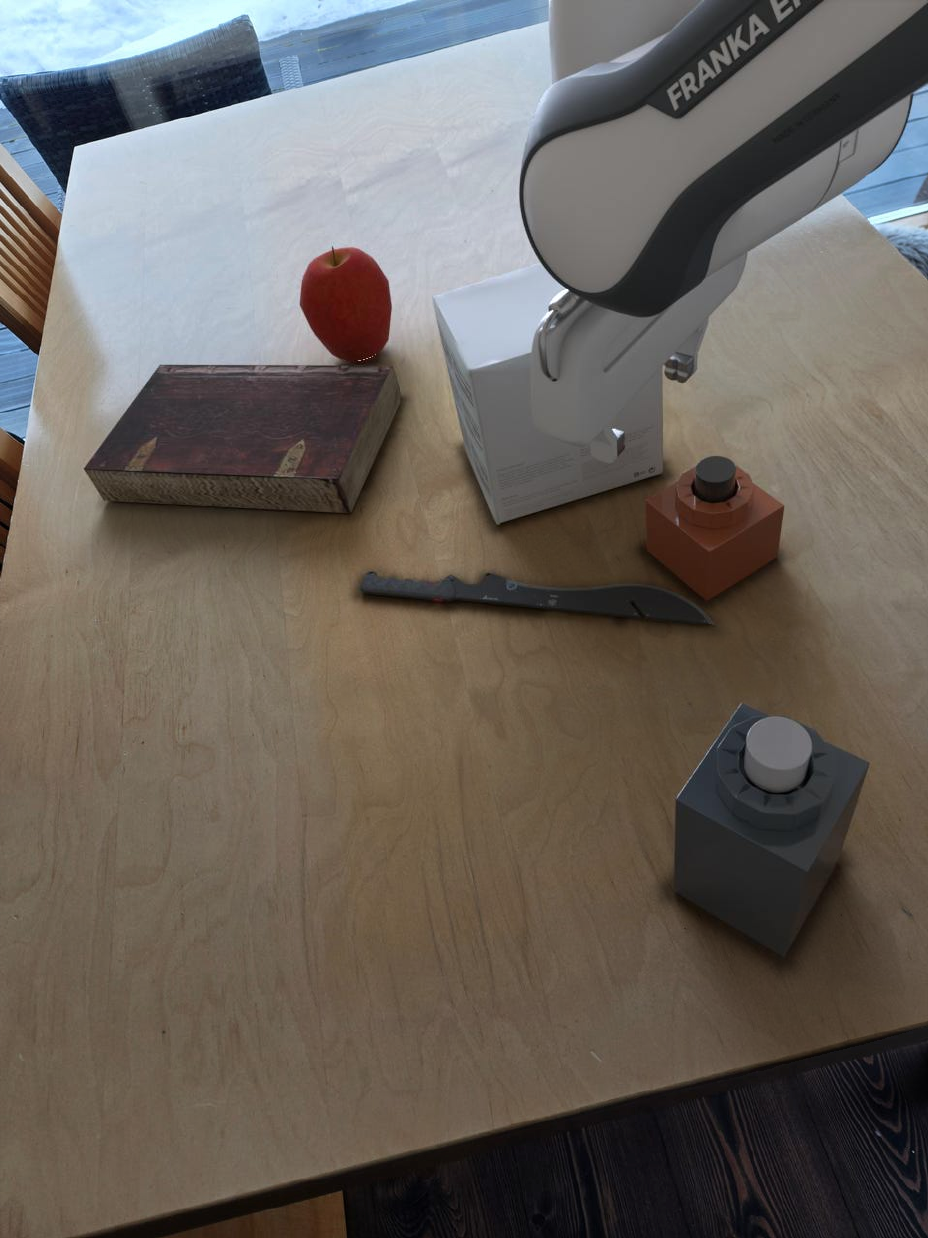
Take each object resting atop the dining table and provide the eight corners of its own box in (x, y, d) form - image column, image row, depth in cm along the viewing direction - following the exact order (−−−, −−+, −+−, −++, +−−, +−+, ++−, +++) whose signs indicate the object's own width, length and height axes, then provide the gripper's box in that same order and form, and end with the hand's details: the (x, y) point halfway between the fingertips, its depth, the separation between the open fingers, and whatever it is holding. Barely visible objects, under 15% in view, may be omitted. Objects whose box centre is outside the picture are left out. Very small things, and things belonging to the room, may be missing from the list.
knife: (719, 593, 79) (720, 589, 79) (714, 631, 77) (714, 626, 76) (373, 561, 89) (371, 557, 88) (358, 594, 86) (357, 590, 86)
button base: (777, 556, 81) (787, 489, 75) (706, 601, 79) (710, 535, 73) (714, 508, 86) (718, 441, 80) (646, 550, 84) (644, 484, 78)
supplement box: (615, 398, 98) (608, 237, 85) (666, 475, 90) (667, 309, 76) (460, 446, 98) (427, 291, 84) (496, 529, 89) (466, 371, 75)
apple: (387, 319, 115) (360, 211, 105) (416, 358, 109) (390, 247, 99) (310, 349, 114) (274, 242, 104) (334, 390, 108) (299, 281, 97)
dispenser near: (838, 861, 63) (876, 743, 52) (784, 958, 60) (812, 855, 48) (730, 803, 67) (743, 682, 56) (673, 891, 64) (675, 781, 52)
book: (402, 398, 105) (392, 360, 101) (351, 516, 93) (338, 478, 90) (176, 395, 112) (159, 360, 109) (105, 503, 101) (83, 468, 98)
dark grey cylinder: (742, 491, 76) (744, 469, 74) (712, 509, 75) (713, 488, 74) (716, 471, 78) (717, 450, 76) (686, 489, 77) (686, 467, 76)
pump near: (817, 758, 52) (823, 733, 50) (789, 804, 51) (794, 780, 49) (760, 731, 54) (764, 706, 52) (732, 774, 53) (735, 750, 51)
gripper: (588, 331, 47) (601, 524, 58) (775, 149, 56) (758, 345, 66) (489, 303, 50) (519, 491, 61) (682, 135, 59) (679, 325, 70)
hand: (645, 414), depth 64 cm, fingers open, 8 cm apart
